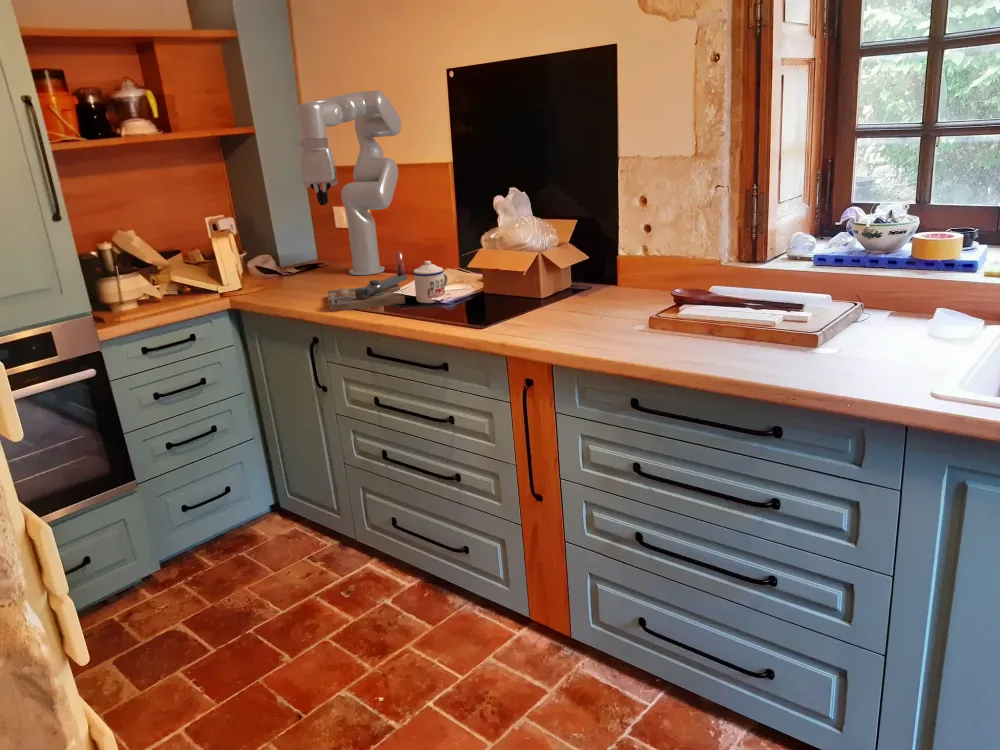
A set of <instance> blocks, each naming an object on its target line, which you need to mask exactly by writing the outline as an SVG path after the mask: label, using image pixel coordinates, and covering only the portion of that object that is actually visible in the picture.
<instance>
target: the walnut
mask: <svg viewBox="0 0 1000 750" xmlns="http://www.w3.org/2000/svg"><path fill="white" fill-rule="evenodd" d="M348 289H349V288H346V287H340V288H339V289H337V290H338V291H337V293H336V296H337V297H344V296H350V292H349V290H348Z"/></svg>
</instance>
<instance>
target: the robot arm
mask: <svg viewBox="0 0 1000 750" xmlns="http://www.w3.org/2000/svg"><path fill="white" fill-rule="evenodd" d="M296 111H297V112H296V116H297V117H296V118H297V120H298V123H299V124H300V131H301V137H302V139H301V141H298V146H299V147H302V149H303V150H301V151H300V170H301V178H302V181H303V186H304V187H306V188H311V189H312V190H313V191H314V192H315V193H316V198H317V203H318V204H319V206H326V205H328V203H329V196H328V191H329V190H330V189H331V188H332V187H333V186H337V185H338V183H339V182H338V179H337V176H338V175H337V168H336V163H335V159H334V155H333V153H332V149H331V148H329V142H328V134H327V128H331V127H337V126H338V125H340V124H342V123H343V124H344V123H348V122H349V123H350V122H352V121H354V130H355V134H356V138H357V142H358V143H359V144H358V145H359V153H358V156H357V158H356V162H355V165H354V169H353V172H352V177H353V180H354V182H349V183H346V184H345V185H344V186H343V188H342V189H341V192H340V193H341V201H342V204H343V208H344V210H345V216H346V219H347V229H348V237H349V245H350V253H351V261H352V268H350V269H349V272H348V273H349V274H350V275H352V276H370V275H375V274H376V275H377V274H380V273H383V272H384V271H385V267H384V266H383V265H380V256H379V255H380V254H379V248H378V247H379V246H378V237H377V230H376V220H375V219H374V217H373V215H372V214H371V213H370V212H369V211H371V210H373V211H375V210H376V211H377V210H385V209H388V208H389V207H390V205H391V203H392V200H393V197H394V193H395V191H396V187H397V184H398V179H399V168H398V164H397V162H396V161H395V160H394V159H393V158H390V157H384V150H383V148H382V147H381V145H380V144H379V143H378V142H377V141H376V140H375V138H382V137H395V136H397V135H398V134H400V132H401V131H402V120H401V117H400V115H399V113H398V112H397V110H396V108H395V107H394V105H393V104H392V102H391V100H390V99H389V97H387V95H386V94H385V93H384V92H382V91H381V90H369V91H368V90H366V91H355V92H350V93H346V94H343V95H337V96H333V97H328V98H322V99H316V100H311V101H307V102H303V103H300V104H299V105H298V108H297V110H296ZM320 183H321V184H322V185H320Z"/></svg>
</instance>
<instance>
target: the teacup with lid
mask: <svg viewBox="0 0 1000 750" xmlns="http://www.w3.org/2000/svg"><path fill="white" fill-rule="evenodd" d="M423 263H424V264H422V265H420V266H419V267H417V268H415V269H414V270H413V272H412V274H413V279H414V280H413V281H414V289H415V290H414V291H415V299H416V301H417V303H420V304H433V303H434V302H435V301H433V300H431V299H432V298H438V297H441V296H443V295H444V294H445V295H446V292H445V291H446V289H445V288H446V287H447V286H448V283H449V276H448V274H447V273H446V272H444V269H443V267H442V266H441V267H440V266H437V265H436V264H434V263H432V262H431V260H425V261H423ZM435 303H436V302H435Z"/></svg>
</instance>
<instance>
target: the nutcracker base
mask: <svg viewBox="0 0 1000 750" xmlns="http://www.w3.org/2000/svg"><path fill="white" fill-rule="evenodd" d="M368 282H369V284H371V285H375V284H379V282H380V280H379V279H372V280H369V281H368ZM364 287H365V286H361V287H350V288H347V289H348V290H349V292H350V296H344V297H337V296H336V293H337V291H338V290H339V289H332V290H331V289H329V290H327V292H328V293H327V295H328V296H327V298H328V299H327V300H328V310H329V312H338V311H347V310H355V309H356V310H357V309H358V310H359V309H367V308H376V307H377V308H378V307H384V306H394V305H403V304H406V299H405V298H406V297H405V295H404V293H403V294H397V293H394V292H396V291H398V290H400V289H401V287H400V284H399V283H397V284H394V285H392V286H390V287H387V288H385V289H383V291H381V292H377V293H372V294H370V295H368V297H367V298H365V299H364V298H356V293H355V289H357V288H364Z"/></svg>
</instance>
